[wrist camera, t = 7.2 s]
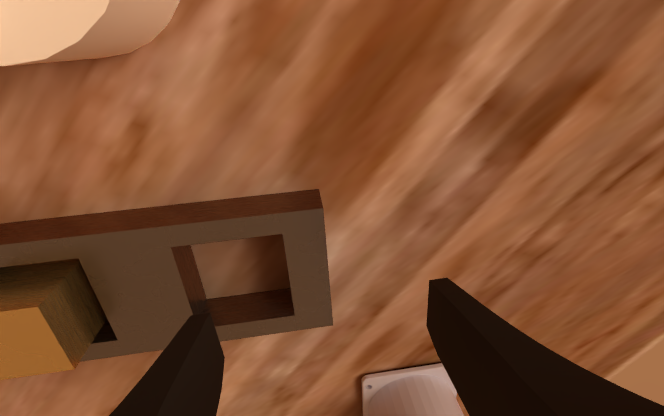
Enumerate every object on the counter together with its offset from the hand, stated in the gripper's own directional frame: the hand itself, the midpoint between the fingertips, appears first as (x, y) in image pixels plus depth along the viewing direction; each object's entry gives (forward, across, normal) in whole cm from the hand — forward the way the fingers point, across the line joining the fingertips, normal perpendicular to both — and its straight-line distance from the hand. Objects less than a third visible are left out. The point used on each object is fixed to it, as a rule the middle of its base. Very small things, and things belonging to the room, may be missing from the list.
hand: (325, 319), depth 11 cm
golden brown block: (+10, +14, +3) cm, 17 cm away
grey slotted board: (+9, +10, +3) cm, 14 cm away
